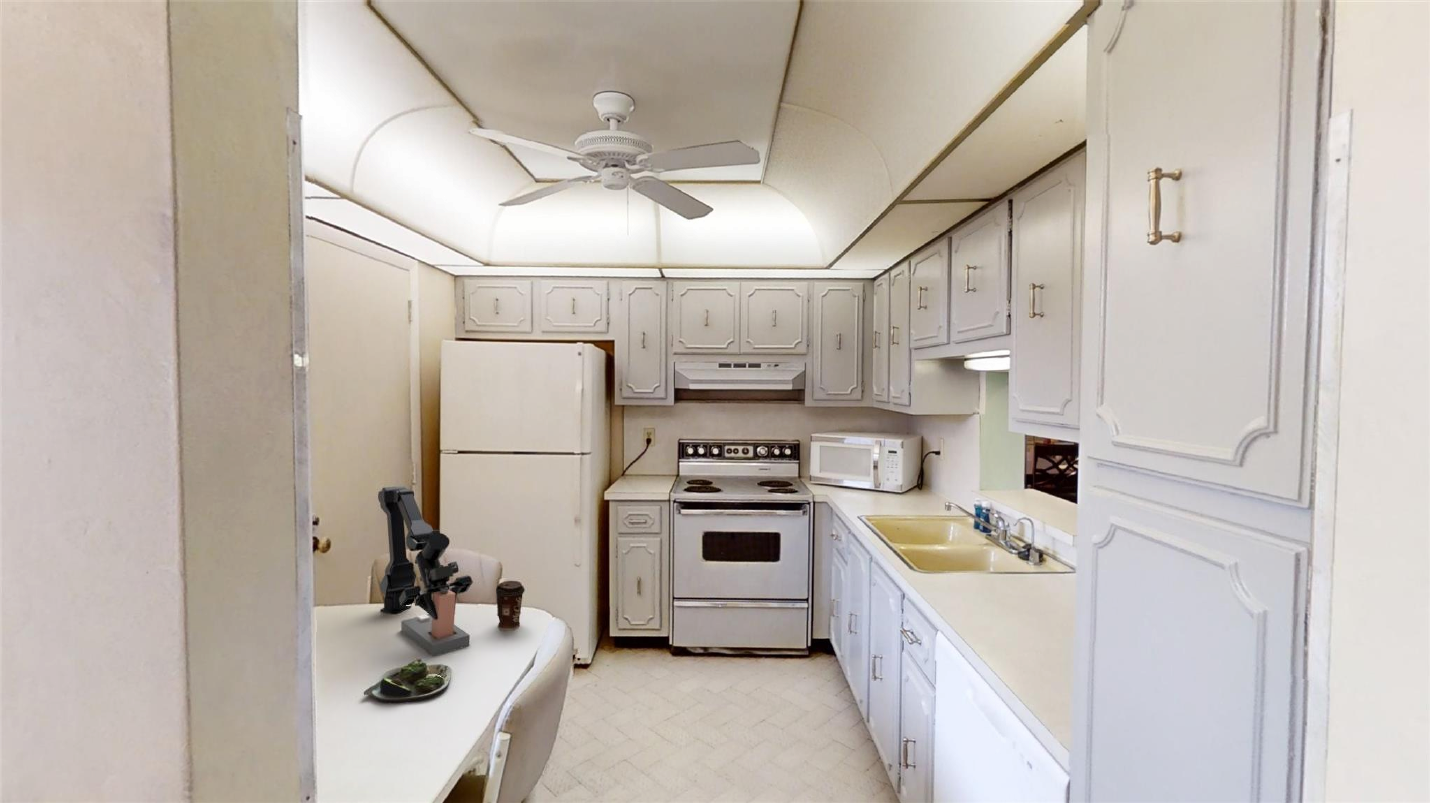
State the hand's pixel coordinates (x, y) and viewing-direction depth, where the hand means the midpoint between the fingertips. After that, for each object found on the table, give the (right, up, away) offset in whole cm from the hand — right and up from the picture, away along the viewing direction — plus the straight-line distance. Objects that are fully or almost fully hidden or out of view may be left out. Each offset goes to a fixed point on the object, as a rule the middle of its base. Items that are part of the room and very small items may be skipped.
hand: (445, 617), depth 165 cm
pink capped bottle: (-1, -7, +1) cm, 7 cm away
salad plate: (+2, -9, -22) cm, 24 cm away
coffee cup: (+12, -9, +15) cm, 21 cm away
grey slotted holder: (-5, -8, +4) cm, 10 cm away
